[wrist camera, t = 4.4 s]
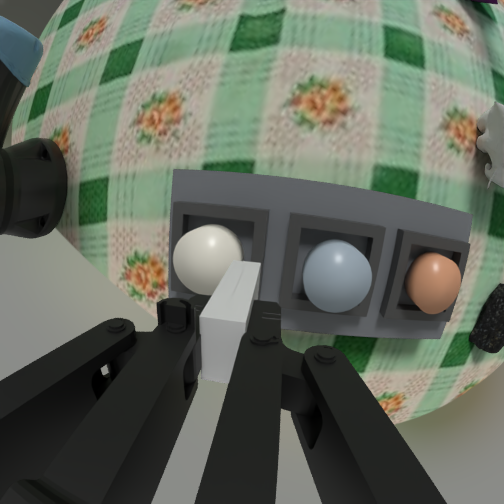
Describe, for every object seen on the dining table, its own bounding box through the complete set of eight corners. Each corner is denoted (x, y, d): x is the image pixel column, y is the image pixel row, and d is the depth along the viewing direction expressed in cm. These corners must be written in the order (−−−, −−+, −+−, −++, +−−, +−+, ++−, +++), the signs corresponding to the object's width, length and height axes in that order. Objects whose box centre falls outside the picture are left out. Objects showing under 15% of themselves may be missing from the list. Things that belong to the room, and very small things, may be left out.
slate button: (297, 296, 22) (298, 308, 20) (307, 235, 21) (309, 241, 19) (356, 302, 22) (363, 315, 19) (368, 243, 21) (378, 250, 18)
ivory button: (183, 279, 23) (172, 289, 21) (186, 221, 22) (174, 225, 20) (241, 288, 23) (235, 300, 21) (247, 227, 22) (241, 232, 19)
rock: (463, 341, 27) (482, 363, 22) (491, 274, 25) (517, 288, 19) (488, 345, 27) (507, 364, 21) (515, 284, 24) (538, 297, 19)
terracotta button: (399, 301, 23) (408, 312, 20) (411, 248, 21) (423, 254, 19) (440, 304, 22) (451, 315, 20) (453, 255, 21) (466, 261, 18)
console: (182, 295, 31) (162, 315, 25) (188, 171, 27) (166, 168, 22) (426, 323, 27) (445, 345, 22) (453, 210, 24) (480, 216, 19)
